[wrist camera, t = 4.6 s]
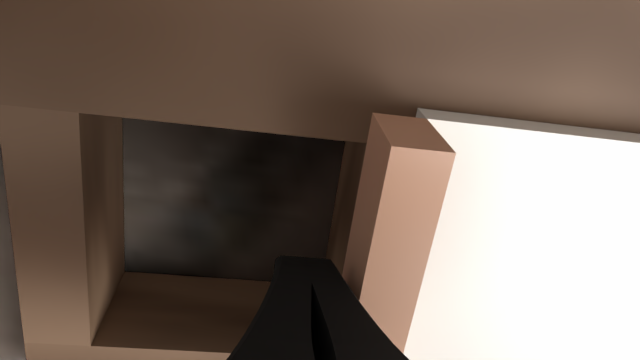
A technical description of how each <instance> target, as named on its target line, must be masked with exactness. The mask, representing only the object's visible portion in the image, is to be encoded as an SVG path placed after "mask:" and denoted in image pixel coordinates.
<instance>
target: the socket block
mask: <svg viewBox="0 0 640 360" xmlns="http://www.w3.org/2000/svg"><path fill="white" fill-rule="evenodd" d="M418 108H422V109H431V110H439V111H448V112H457V113H465V114H474V115H482V116H491V117H500V118H508V119H517V120H525V121H534V122H543V123H551V124H560V125H568V126H577V127H586V128H594V129H603V130H611V131H620V132H629V133H637V134H640V0H0V144H1V152H2V160H3V169H4V177H5V186H6V194H7V203H8V211H9V219H10V228H11V236H12V245H13V253H14V262H15V270H16V279H17V287H18V295H19V304H20V312H21V321H22V329H23V338H24V346H25V354H26V360H226V359H227V358H228V357H229V355H230V354H231V353H232V351H233V350H234V348H235V347H236V346H237V344H238V343H239V341H240V340H241V338H242V337H243V335H244V334H245V332H246V330H247V329H248V327H249V325H250V323H251V322H252V320H253V318H254V317H255V315H256V313H257V311H258V310H259V308H260V306H261V303H262V301H263V299H264V297H265V295H266V293H267V291H268V288H269V286H270V283H271V282H268V281H254V280H239V279H225V278H210V277H196V276H182V275H167V274H153V273H138V272H125V253H124V192H123V131H122V118H132V119H141V120H151V121H160V122H169V123H179V124H188V125H198V126H207V127H217V128H226V129H236V130H245V131H254V132H264V133H273V134H283V135H292V136H302V137H311V138H321V139H330V140H340V141H345V147H344V152H343V158H342V164H341V170H340V176H339V182H338V188H337V194H336V200H335V206H334V212H333V217H332V223H331V229H330V235H329V241H328V247H327V253H326V259H331V261H332V262H333V263H334V264H335V266H336V268H337V269H338V271H339V272H340V274H341V275H342V273H343V268H344V262H345V257H346V252H347V246H348V241H349V236H350V230H351V225H352V220H353V214H354V209H355V203H356V198H357V193H358V187H359V182H360V177H361V171H362V166H363V161H364V155H365V150H366V145H367V139H368V134H369V129H370V123H371V118H372V113H381V114H389V115H398V116H407V117H416V113H417V109H418Z"/></svg>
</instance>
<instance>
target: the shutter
mask: <svg viewBox="0 0 640 360" xmlns="http://www.w3.org/2000/svg"><path fill="white" fill-rule="evenodd" d="M342 277H343V278H344V280H345V281H346V283H347V284H348V286H349V287H350V289H351V290H352V292H353V293H354V295H355V296H356V297H357V299H358V300H359V302H360V303H361V304H362V306H363V307H364V308H365V310H366V311H367V312H368V313H369V315H370V316H371V317H372V319H373V320H374V321H375V322H376V324H377V325H378V326H379V327H380V329H381V330H382V331H383V332H384V333H385V334H386V336H387V337H388V338H389V339H390V340H391V341H392V343H393V344H394V345H395V346H396V347H397V348H398V349H399V350H400V351H401V352H402V353H403V354H404V355H405V356H406V357H407V358H408V359H409V360H640V134H637V133H629V132H620V131H611V130H603V129H594V128H586V127H577V126H568V125H560V124H551V123H543V122H534V121H525V120H517V119H508V118H500V117H491V116H482V115H474V114H465V113H457V112H448V111H439V110H431V109H422V108H418V109H417V113H416V117H407V116H398V115H389V114H381V113H372V118H371V123H370V129H369V134H368V139H367V145H366V150H365V155H364V161H363V166H362V171H361V177H360V182H359V187H358V193H357V198H356V203H355V209H354V214H353V220H352V225H351V230H350V236H349V241H348V246H347V252H346V257H345V262H344V268H343V273H342Z"/></svg>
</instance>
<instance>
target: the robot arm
mask: <svg viewBox="0 0 640 360" xmlns="http://www.w3.org/2000/svg"><path fill="white" fill-rule="evenodd" d="M226 360H409V359H408V358H407V357H406V356H405V355H404V354H403V353H402V352H401V351H400V350H399V349H398V348H397V347H396V346H395V345H394V344H393V343H392V341H391V340H390V339H389V338H388V337H387V336H386V334H385V333H384V332H383V331H382V330H381V329H380V327H379V326H378V325H377V324H376V322H375V321H374V320H373V319H372V317H371V316H370V315H369V313H368V312H367V311H366V310H365V308H364V307H363V306H362V304H361V303H360V302H359V300H358V299H357V297H356V296H355V295H354V293H353V292H352V290H351V289H350V287H349V286H348V284H347V283H346V281H345V280H344V278H343V277H342V275H341V274H340V272H339V271H338V269H337V268H336V266H335V264H334V263H333V262H332V261H331V259H318V258H305V257H292V256H280V257H278V258H277V259H276V260H275V268H274V274H273V278H272V280H271V283H270V286H269V288H268V291H267V293H266V295H265V297H264V299H263V301H262V303H261V306H260V308H259V310H258V311H257V313H256V315H255V317H254V318H253V320H252V322H251V323H250V325H249V327H248V329H247V330H246V332H245V334H244V335H243V337H242V338H241V340H240V341H239V343H238V344H237V346H236V347H235V348H234V350H233V351H232V353H231V354H230V355H229V357H228V358H227V359H226Z"/></svg>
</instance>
